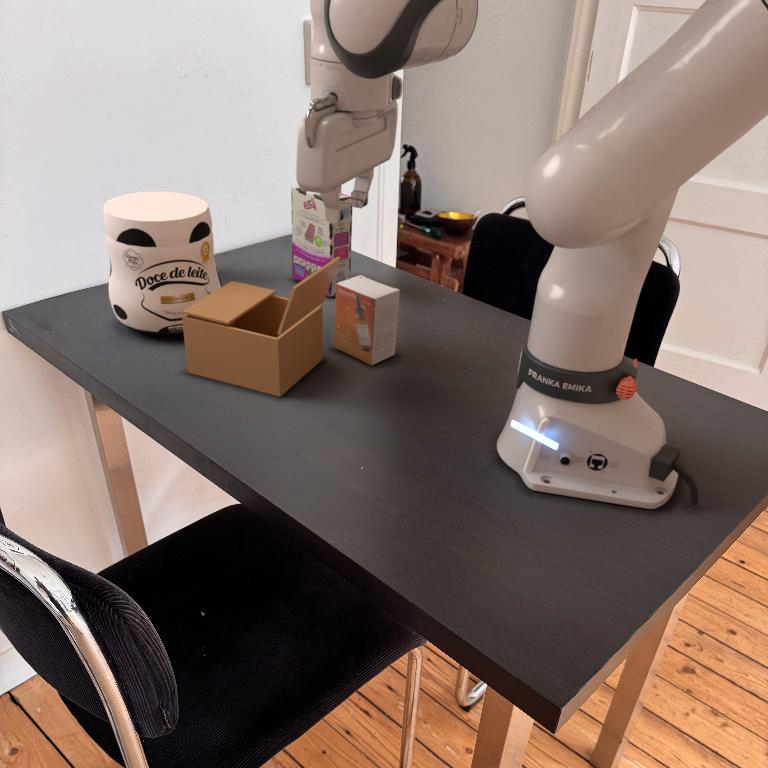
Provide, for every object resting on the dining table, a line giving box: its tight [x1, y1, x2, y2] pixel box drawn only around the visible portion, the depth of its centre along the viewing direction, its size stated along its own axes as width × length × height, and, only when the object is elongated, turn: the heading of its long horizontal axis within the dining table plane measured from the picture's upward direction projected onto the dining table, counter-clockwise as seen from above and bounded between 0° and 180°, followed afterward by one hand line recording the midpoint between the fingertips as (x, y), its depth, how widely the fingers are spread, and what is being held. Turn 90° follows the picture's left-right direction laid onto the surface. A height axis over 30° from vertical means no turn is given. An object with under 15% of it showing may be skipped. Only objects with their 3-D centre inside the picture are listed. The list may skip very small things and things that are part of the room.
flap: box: [278, 257, 340, 335], centre depth 105 cm, size 7×13×1 cm
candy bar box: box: [290, 184, 353, 298], centre depth 137 cm, size 11×5×16 cm, turn 43°
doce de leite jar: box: [102, 190, 223, 336], centre depth 121 cm, size 17×17×18 cm
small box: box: [333, 274, 401, 366], centre depth 118 cm, size 8×6×10 cm
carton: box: [182, 280, 323, 398], centre depth 112 cm, size 15×13×9 cm
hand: (347, 213), depth 97 cm, fingers open, 6 cm apart
